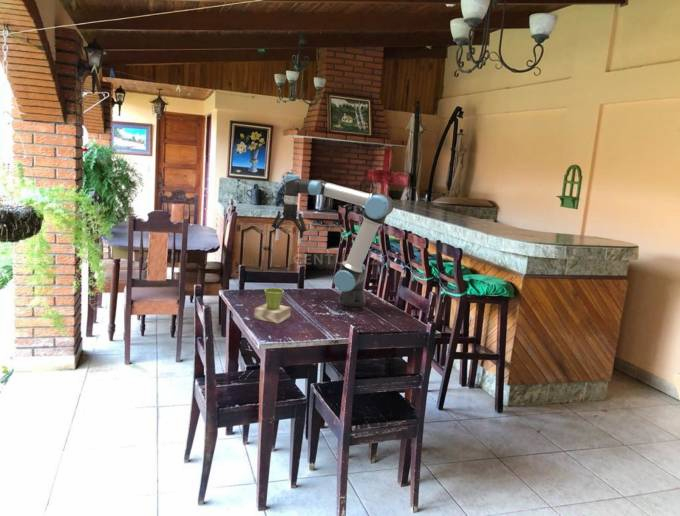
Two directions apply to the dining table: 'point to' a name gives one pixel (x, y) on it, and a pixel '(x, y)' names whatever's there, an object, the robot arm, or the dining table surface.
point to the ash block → (272, 313)
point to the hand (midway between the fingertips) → (288, 242)
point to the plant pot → (273, 297)
